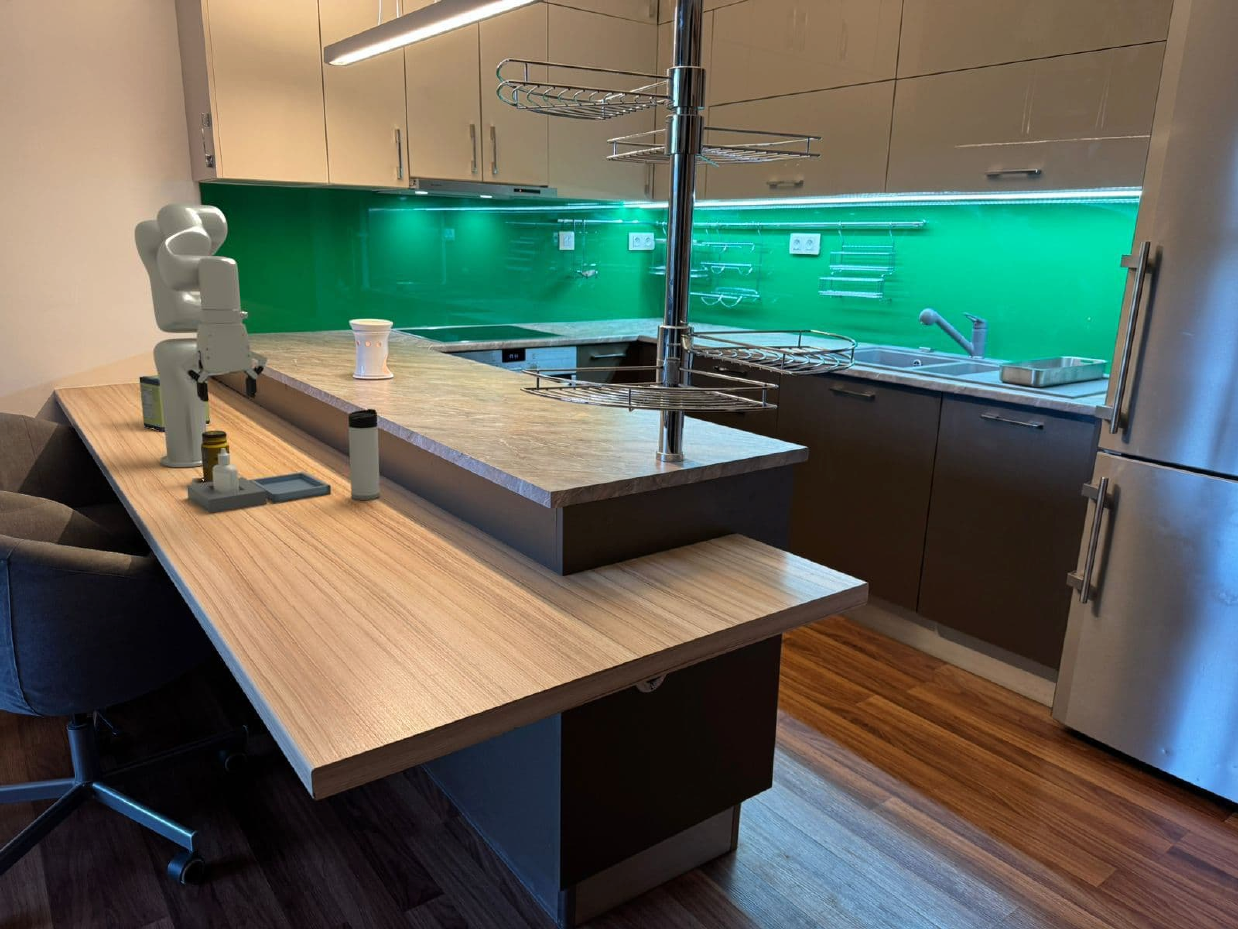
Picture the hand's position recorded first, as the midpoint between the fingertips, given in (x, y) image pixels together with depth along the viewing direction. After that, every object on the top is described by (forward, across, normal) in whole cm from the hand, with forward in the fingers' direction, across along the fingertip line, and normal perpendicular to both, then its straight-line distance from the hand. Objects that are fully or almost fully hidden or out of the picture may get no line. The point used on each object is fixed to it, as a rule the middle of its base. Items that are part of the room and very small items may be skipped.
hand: (228, 398), depth 181 cm
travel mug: (+24, -25, +12) cm, 36 cm away
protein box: (+22, -15, -89) cm, 93 cm away
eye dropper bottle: (+23, +1, -2) cm, 23 cm away
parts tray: (+23, -13, -2) cm, 27 cm away
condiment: (+23, -2, -20) cm, 31 cm away
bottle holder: (+23, +1, -2) cm, 23 cm away
